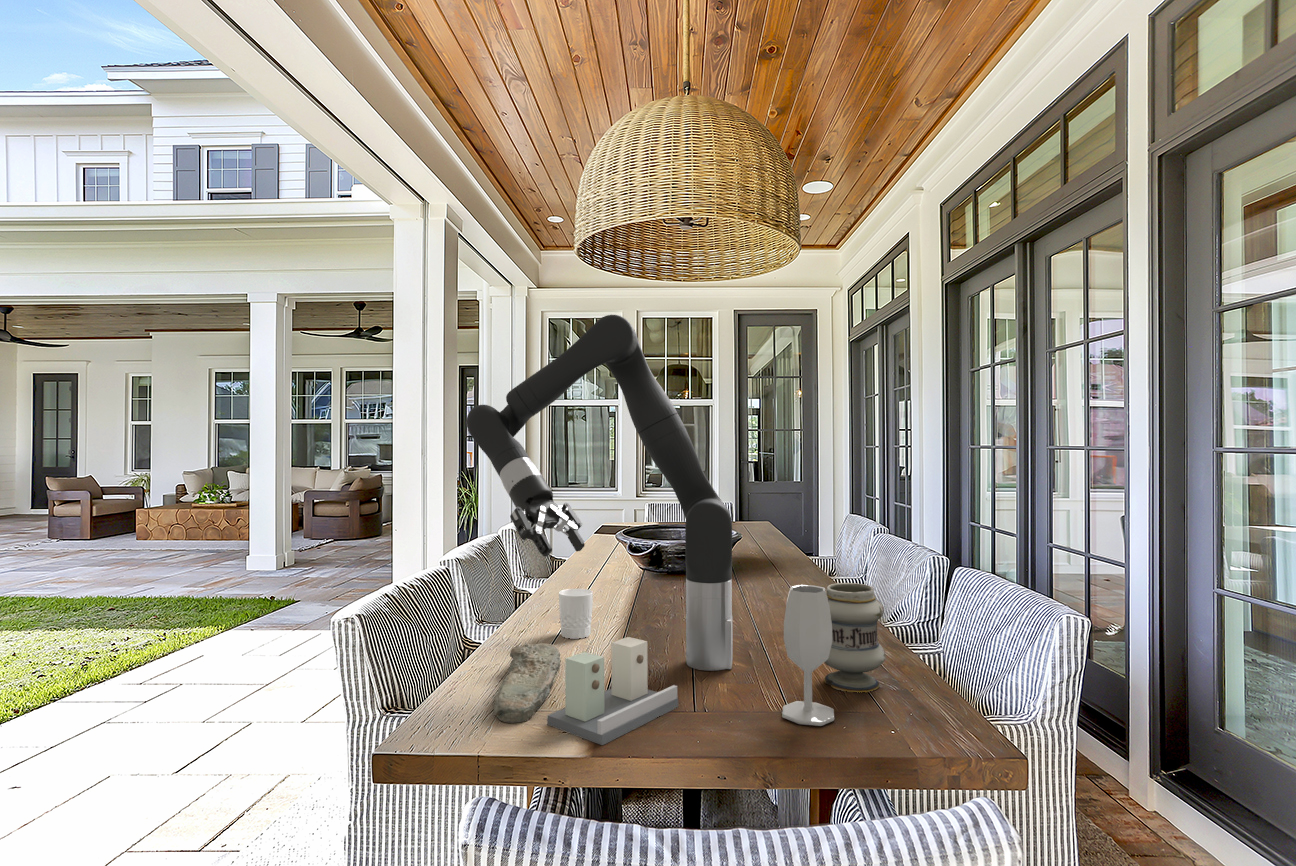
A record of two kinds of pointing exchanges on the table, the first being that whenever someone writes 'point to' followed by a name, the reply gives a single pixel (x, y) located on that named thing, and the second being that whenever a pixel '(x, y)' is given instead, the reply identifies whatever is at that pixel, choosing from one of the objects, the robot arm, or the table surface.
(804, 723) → the wineglass
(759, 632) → the table surface
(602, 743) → the tile board
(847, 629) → the apothecary jar
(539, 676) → the elongated rock
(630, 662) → the white block
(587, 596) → the white cup
